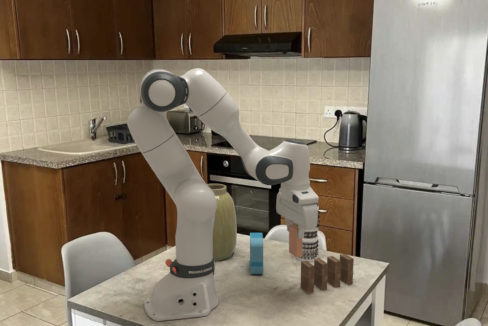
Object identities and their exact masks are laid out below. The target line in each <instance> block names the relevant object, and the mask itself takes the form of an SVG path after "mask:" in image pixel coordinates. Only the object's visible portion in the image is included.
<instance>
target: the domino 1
mask: <svg viewBox="0 0 488 326" xmlns="http://www.w3.org/2000/svg"><path fill="white" fill-rule="evenodd" d="M298 231H299V228H298V226H296V224H293V225H289V232H288V253H289V254H291V255H292V256H294V257H295V259H297V258H298V257H302V238H301V239H300V238H298V237H297V232H298Z"/></svg>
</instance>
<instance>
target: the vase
mask: <svg viewBox="0 0 488 326" xmlns="http://www.w3.org/2000/svg"><path fill="white" fill-rule="evenodd" d="M206 184H207V185H208V186H209V187H210V188H211V189H212V191H213V192H214V194H215V197H216V202H217V209H216V212H215V219H214V226H213V236H212V241H213V257H214V262H216V261H222V260H223V261H224V260H226V259H228V258H230V257H232V255H233V253H234V251H235V249H236V246H237V242H238V241H237V239H238V238H237V235H238V232H237V231H238V230H237V229H238V227H237V214H236V206H235V201H234V198H233V197H232V196H231V195H230V193H229V192H228V191H227V185H225V184H222V183H206Z"/></svg>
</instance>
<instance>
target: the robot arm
mask: <svg viewBox="0 0 488 326" xmlns="http://www.w3.org/2000/svg"><path fill="white" fill-rule="evenodd" d="M139 100H140V101H139V102H140V105H139V106H138V107H136V108H134V109H133V110H132V111H131V113H129V114H128V117H127V121H126V124H127V127H128V130H129V133H130V135H131V137H132V139H133V141H134V142H135V144H136V146H137V148H138V150H139V151H140V153H141V155H142V156H143V158H144V159H145V160H146V162H147V164H148V165H149V167H150V168H151V170H152V171H153V173H154V174H155V176H156V178H157V179H158V180H159V182H160V183H161V184H162V186H163V188H164V189H165V191H166V192H167V194H168V195H169V197H170V198H171V200H172V201H173V203H174V204H175V206H176V213H177V214H176V215H177V218H176V219H177V220H176V231H175V236H174V238H175V259H174V260H173V261H172V259H170V258H167V259H166V260H165V265H166V267H168V268H169V272H168V273H167V274H165V275H164V276H163V277H162V278H161V279H160V280H158V281H157V282H156V283H155V284H154V285H153V286H152V291H151V296H150V297H147V298H146V299H145V301H144V305H143V307H144V311H145V313H146V315H147V316H148V317H149V318H150V319H152V320H153V321H157V322H160V321H161V322H162V321H170V320H171V321H172V320H179V319H190V318H198V317H206V316H209V314H210V312H211V311H212V310H213V309H215V308H216V307H217V306H218V305H219V296H218V293H217V290H216V289H217V288H216V286H215V285H216V284H215V269H216V267H215V266H216V264H215V263H216V262H215V261H214V257H213V241H212V236H213V226H214V219H215V212H216V209H217V202H216V197H215V194H214V192H213V191H212V189H211V188H210V187H209V186H208V185H207V184H208V183H206V182H205V180H204V179H203V177H202V176H201V174H200V173H199V170H198V169H197V167H196V166H195V164H194V162H193V160H192V159H191V156H190V155H189V152H188V151H187V150H186V148H185V147H184V144H183V143H182V141H181V140H180V138H179V136H178V135H177V134H176V132H175V130H174V129H173V127H172V125H171V124H170V122H169V120H168V118H167V112H169V111H172V110H174V109H175V108H178V107H181V106H182V105H185V106H187V107H188V109H190V110H191V111H192V112H193V113H194V115H195V116H196V117H197V118H198V119H199V120H200V121H201V122H202V123H203V124H204V125H205V126H206V127H208V128H209V130H211V131H213V132H214V133H215V134H218V135H220V136H221V137H223V138H224V139H225V140H226V142H228V144H229V145H230V146H231V147H232V148H233V149H234V151H235V152H236V153H237V154H238V155H239V157H240V159H241V162H242V166H243V169H244V171H245V172H246V173H247V175H249V176H250V177H252V178H253V179H255V180H256V181H258V182H259V183H261V184H263V185H265V186H275V185H280V188H279V189H278V193H277V194H276V205H275V209H276V210H275V211H276V213H277V214H278V215H280V216H282V217H284V222H285V224H286V231H287V232H288V233H289V225H294V224H295V225H296V224H297V225H298V228H299V231H298V232H297V237H298V238H300V239H301V238H304V232H305V230H308V229H314V228H316V226H317V221H318V220H319V218H318V215H319V214H318V211H319V210H318V208H317V205H316V203H317V202H318V203H319V199H318V197H319V196H318V194H317V193H316V192H315V191H314V190H313V188H312V187H311V180H310V176H309V174H310V171H311V156H310V149H309V147H308V145H307V144H306V143H305V142H304V141H301V140H297V139H289V138H288V139H284V140H283V141H282V142H281V143H280V144H278V145H277V146H275V147H274V148H272V149H270V150H269V149H267V148H266V147H263V146H262V145H258V144H257V143H256V142H255V141H254V140H253V138H252V137H251V136H250V135H249V134H248V132H247V131H246V130H245V129H244V128H243V126H242V125H241V123H240V109H239V107H238V105H237V104H236V102H235V100H234V99H233V97H232V96H231V95H230V93H229V92H228V91H227V90H226V89H225V88H224V87H223V85H222V84H221V83H220V82H218V80H216V79H215V78H214V76H212V75H211V74H210V73H209V72H207V71H206V70H205V69H203V68H201V67H197V68H196V67H195V68H192V69H190V70H187V72H185V73H184V74H182V75H181V76H179V75H176V74H174V73H173V72H171V71H169V70H166V69H163V68H153V69H150V70H148V71H147V72H145V73H144V74H143V76H142V77H141V79H140V82H139ZM293 223H294V224H293Z"/></svg>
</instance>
